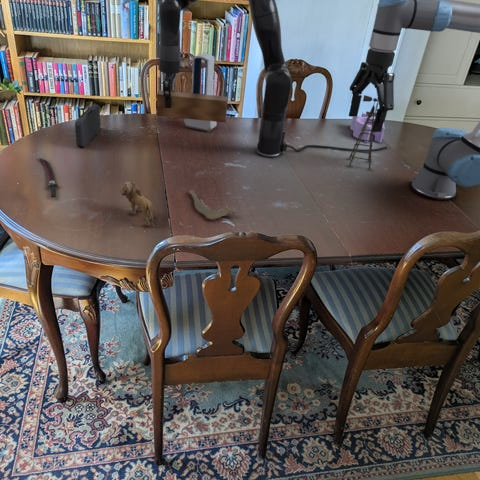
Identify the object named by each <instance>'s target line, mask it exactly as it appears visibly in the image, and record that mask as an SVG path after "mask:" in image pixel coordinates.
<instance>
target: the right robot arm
mask: <svg viewBox="0 0 480 480" xmlns="http://www.w3.org/2000/svg"><path fill="white" fill-rule="evenodd" d="M402 29H405V30H408V29H409V30H415V31H416V30H417V31H424V32H425V31H426V32H430V33H433V32H438V33H440V32H444V31H445V30H446V29H448V30H455V31H462V32H470V33H477V34H480V3H476V2H469V1H467V2H466V1H461V0H379V1H378V3H377V9H376V14H375V19H374V24H373V28H372V31H371V35H370V39H369V42H368V43H369V44H368V46H369V49H368V50H367V53H366V58H365V62H364V61H362V62H361V63H360V67H359V70H358V71H357V73H356V75H355V77H354V79H353V81H352V83H351V84H350V86H349V91H350V92H351V94H352V96H351V101H350V108H349V112H348V117H353V116H357V115H358V114H359V110H360V106H361V102H362V99H363V95H362V94H363V92H364V90H366V88H367V87H368V86H369V85H370V84H372V85H373V87H374V88H375V90H376V96H377V97H378V99H377V100H378V101H377V102H379V103H378V108H377V111H376V117H374V119H375V121H374V125H373V128H372V132H381V130H382V126H383V123H384V124H385V121H386V117H387V114H388V111H393V110H394V109H395V108H394V107H395V101H394V100H395V99H394V98H395V97H394V94H395V93H394V81H395V77H396V75H395V72H389V68H391V67H392V66H393V64H394V60H395V57H396V53H395V51H396V50H397V47H398V43H399V40H400V36H401V32H402ZM358 116H359V115H358ZM479 185H480V120H479V121H478V122H477V124H476V125H475V127H474V128H473V129H472V130H471V132H469V131H466V130H464V129H463V130H462V129H458V128H453V127H438V128H436V129H435V131H434V132H433V134H432V137H431V140H430V143H429V146H428V150H427V152H426V156H425V158H424V162H423V165H422V167H421V169H419V171H418V173H417V174H416V176H415V177H414V178H413V180H412V182H411V185H410V187H411V189H412V190H413V191H414V192H415V193H416V194H418V195H420V196H422V197H424V198H427V199H431V200H436V201H449V200H453V199H454V198H455V196H456V193H457V187H456V186H459V187H461V188H462V187H463V188H472V187H477V186H479Z"/></svg>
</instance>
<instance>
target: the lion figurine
mask: <svg viewBox="0 0 480 480" xmlns="http://www.w3.org/2000/svg"><path fill="white" fill-rule="evenodd" d="M119 193H120V194H121V196H122V197H124V196H125V198H126V199H127V200H128V202H129V203H130V207H131V211H130V212H129V213H130V215H135V214H136V211H137V212H141V214H142V216H143V218H144V219H145V223H144V225H145V227H149V226H150V221H152V223H153V225H155V226H159V222H156V221H155V219H154V217H153V216H154V215H153V204H152V202H151V200H150V199H148V198H146V197H145V196H144V195H143V194H142V192H141V190H140V187H138V185H136V184H135V183H133V182H132V181H125V182H124V186H122V188H121V189H119ZM136 207H137V208H136ZM148 214H149V216H148Z"/></svg>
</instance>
